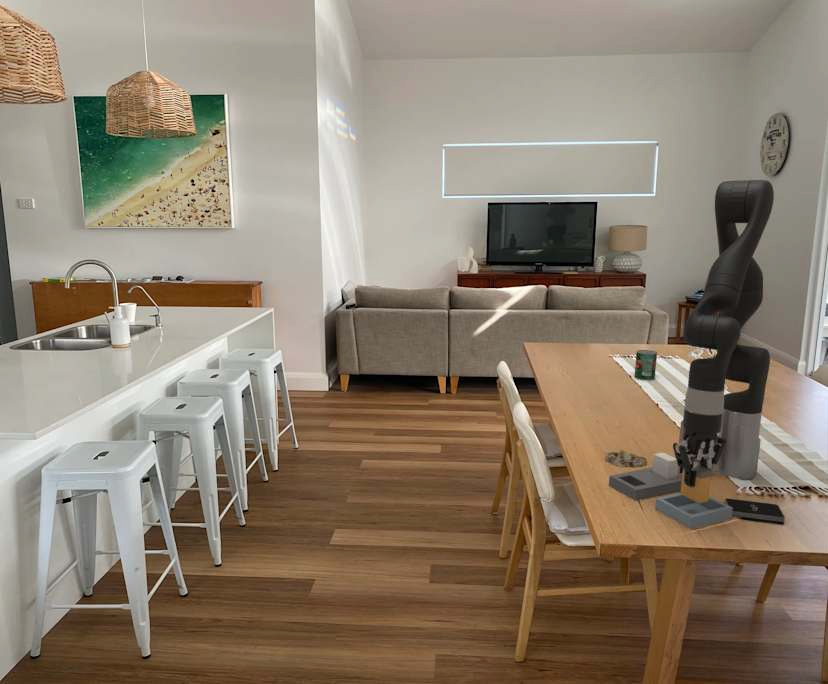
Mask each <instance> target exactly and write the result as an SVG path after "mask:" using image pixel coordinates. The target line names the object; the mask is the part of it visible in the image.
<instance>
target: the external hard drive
mask: <svg viewBox="0 0 828 684" xmlns="http://www.w3.org/2000/svg"><path fill="white" fill-rule="evenodd" d="M723 503H724V504H726V505H729V506H731V507H733V510H732V517H735V518H736V519H737V520H744V521H750V522H752V521H753V522H757V523H758V522H760V523H766V524H767V523H768V524H772V525H773V524H774V525H782V526H783V525H784V524H785V521H786V516H785V515H784V514H785V513H783V511H782V509H781V508H780V506H779V504H776V503H769V502H759V501H754V500H744V499H738V498H737V499H735V498H730V497H729V498H728V497H727V498H724V502H723Z"/></svg>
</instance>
